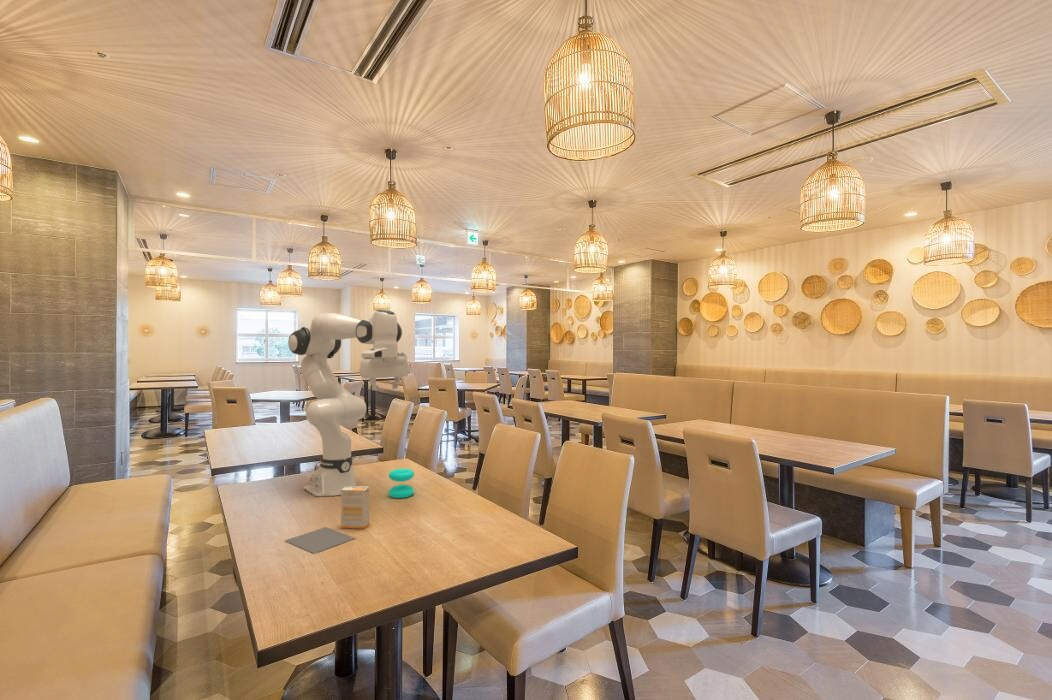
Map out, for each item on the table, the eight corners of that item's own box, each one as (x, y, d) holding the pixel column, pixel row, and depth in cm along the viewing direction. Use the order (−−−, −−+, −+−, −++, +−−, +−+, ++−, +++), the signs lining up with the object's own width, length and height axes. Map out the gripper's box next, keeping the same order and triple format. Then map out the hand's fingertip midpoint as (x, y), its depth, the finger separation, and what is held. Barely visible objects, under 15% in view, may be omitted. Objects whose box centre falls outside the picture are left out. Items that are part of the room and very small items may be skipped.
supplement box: (370, 524, 165) (370, 486, 165) (364, 529, 161) (364, 490, 160) (346, 523, 166) (347, 485, 166) (340, 528, 161) (340, 489, 161)
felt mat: (284, 541, 150) (284, 540, 150) (325, 527, 162) (325, 526, 162) (314, 554, 141) (314, 553, 141) (355, 538, 153) (355, 538, 153)
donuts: (395, 467, 203) (418, 468, 201) (395, 490, 204) (417, 492, 202) (384, 473, 194) (407, 474, 192) (384, 498, 194) (407, 500, 192)
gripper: (401, 352, 193) (401, 387, 193) (357, 352, 176) (357, 390, 176) (412, 352, 190) (412, 388, 190) (368, 353, 173) (368, 391, 173)
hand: (385, 389), depth 183 cm, fingers open, 8 cm apart
